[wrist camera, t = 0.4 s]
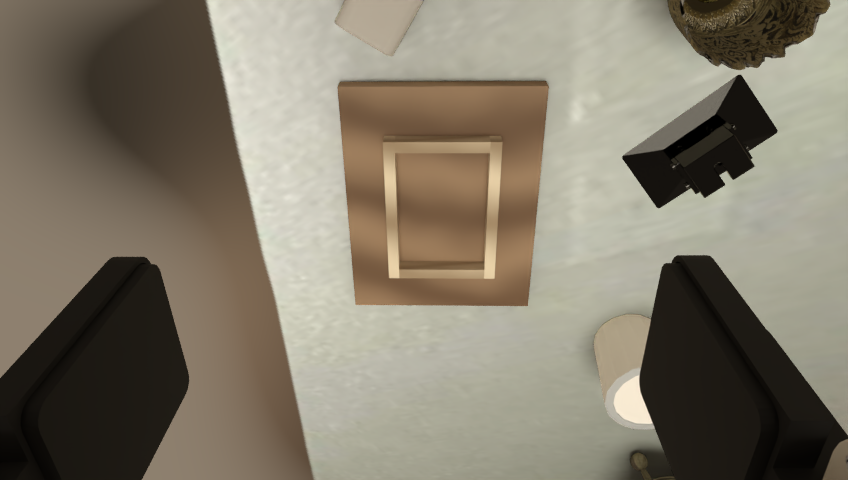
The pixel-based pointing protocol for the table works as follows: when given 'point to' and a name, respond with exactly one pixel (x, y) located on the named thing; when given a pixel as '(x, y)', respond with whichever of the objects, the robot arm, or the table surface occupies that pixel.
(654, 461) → the table surface
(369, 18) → the usb wall charger
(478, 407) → the table surface
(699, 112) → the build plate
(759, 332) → the robot arm
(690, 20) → the cup
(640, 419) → the beige short cylinder
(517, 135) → the jig board
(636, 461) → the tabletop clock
